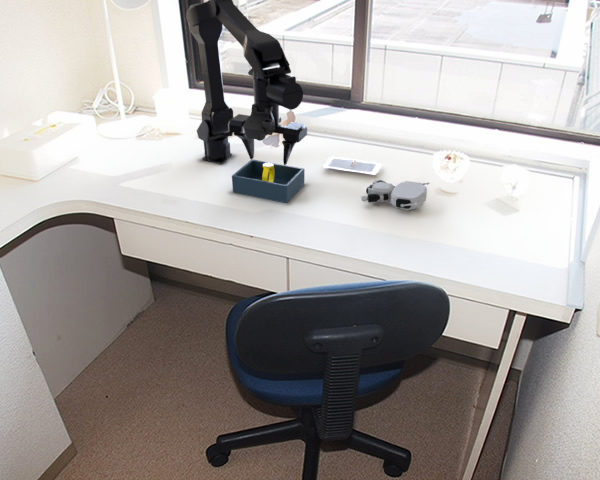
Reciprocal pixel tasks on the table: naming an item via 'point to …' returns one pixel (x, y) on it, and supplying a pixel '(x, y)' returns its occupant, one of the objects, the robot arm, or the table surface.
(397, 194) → the robot toy
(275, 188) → the organiser tray
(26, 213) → the table surface
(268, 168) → the watch
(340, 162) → the touchpad
